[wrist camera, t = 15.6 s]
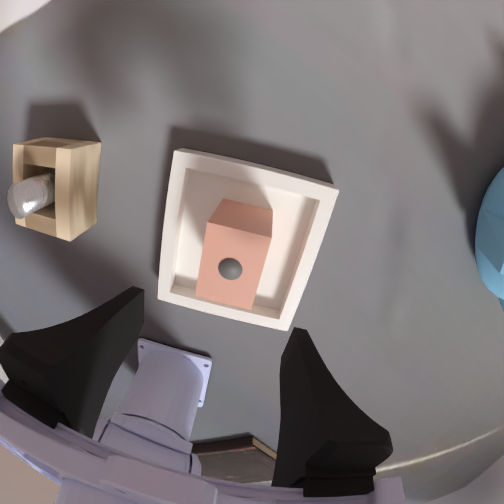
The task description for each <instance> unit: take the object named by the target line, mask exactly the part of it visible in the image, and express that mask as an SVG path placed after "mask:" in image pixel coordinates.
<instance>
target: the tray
mask: <svg viewBox="0 0 504 504" xmlns="http://www.w3.org/2000/svg"><path fill="white" fill-rule="evenodd" d="M338 192H339V190H338V189H337V188H336V186H335V185H334V184H330V183H327V182H324V181H320V180H317V179H313V178H310V177H306V176H303V175H299V174H296V173H292V172H288V171H284V170H281V169H277V168H273V167H269V166H265V165H261V164H257V163H252V162H248V161H244V160H240V159H235V158H231V157H226V156H221V155H216V154H212V153H207V152H202V151H196V150H191V149H186V148H181V149H178V150H174V155H173V161H172V167H171V173H170V180H169V187H168V194H167V201H166V209H165V217H164V226H163V236H162V246H161V257H160V269H159V283H158V299H159V300H163V301H166V302H170V303H173V304H177V305H181V306H184V307H188V308H192V309H195V310H199V311H203V312H207V313H211V314H215V315H219V316H223V317H227V318H231V319H235V320H239V321H243V322H248V323H252V324H257V325H261V326H266V327H270V328H275V329H280V330H284V331H288V329H289V326H290V324H291V321H292V319H293V316H294V314H295V311H296V309H297V306H298V304H299V301H300V299H301V296H302V294H303V291H304V289H305V286H306V283H307V281H308V278H309V275H310V273H311V270H312V267H313V265H314V262H315V259H316V256H317V254H318V251H319V248H320V245H321V242H322V240H323V237H324V234H325V231H326V228H327V225H328V222H329V219H330V216H331V213H332V210H333V207H334V204H335V201H336V198H337V195H338ZM223 198H224V199H228V200H232V201H237V202H241V203H245V204H249V205H253V206H257V207H261V208H265V209H269V210H273V224H272V239H271V243H270V246H269V250H268V253H267V257H266V260H265V264H264V267H263V271H262V274H261V278H260V281H259V284H258V288H257V291H256V295H255V298H254V302H253V305H252V308H251V310H250V309H245V308H241V307H237V306H233V305H229V304H225V303H221V302H217V301H213V300H209V299H205V298H201V297H197V296H195V293H196V286H197V280H198V273H199V267H200V261H201V255H202V249H203V243H204V237H205V232H206V226H207V222H208V220H209V219H210V217H211V216H212V214H213V213H214V211H215V210H216V208H217V207H218V205H219V204H220V202H221V201H222V199H223Z"/></svg>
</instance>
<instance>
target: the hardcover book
mask: <svg viewBox="0 0 504 504" xmlns="http://www.w3.org/2000/svg"><path fill="white" fill-rule="evenodd" d="M191 453H193V454H196V455H197V456H198V459H199V461H200V463H201V476H205V477H209V478H214V479H220V480H225V481H231V482H238V483H252V482H261V481H269V480H273V475H274V469H275V463H276V456H277V454H276V453H275V452H273V451H272V450H271V449H269V448H268V447H266V446H265V445H263V444H262V443H261V442H259V441H258V440H257V439H255V438H254V437H253V436H248V437H242V438H237V439H231V440H224V441H218V442H210V443H202V444H193V446H192V450H191Z"/></svg>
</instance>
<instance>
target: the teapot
mask: <svg viewBox="0 0 504 504" xmlns="http://www.w3.org/2000/svg"><path fill="white" fill-rule="evenodd" d="M475 255H476V263H477V268H478V271H479V274H480V276H481V279H482V281H483V283H484V284H485V285H486V286H487V288H488V289H489V290H490V291H491V292H493V293H494V294H495V295H497V296H498V297H499V301H500V304H501V306H502V308H503V310H504V167H503V168H502V169H501V170H500V171H499V172H498V174H497V175H496V176H495V178H494V179H493V181H492V182H491V184H490V186H489V187H488V189H487V191H486V193H485V196H484V198H483V201H482V204H481V207H480V210H479V215H478V220H477V226H476V237H475Z"/></svg>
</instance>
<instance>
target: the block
mask: <svg viewBox="0 0 504 504" xmlns="http://www.w3.org/2000/svg"><path fill="white" fill-rule="evenodd" d="M272 224H273V210H269V209H265V208H261V207H257V206H253V205H249V204H245V203H241V202H237V201H232V200H228V199H224V198H223V199H222V201H221V202H220V204H219V205H218V207H217V208H216V210H215V211H214V213H213V214H212V216H211V217H210V219H209V220H208V222H207V226H206V232H205V237H204V243H203V249H202V255H201V261H200V267H199V273H198V280H197V286H196V293H195V296H197V297H201V298H205V299H209V300H213V301H217V302H221V303H225V304H229V305H233V306H237V307H241V308H245V309H250V310H251V308H252V305H253V302H254V298H255V295H256V291H257V288H258V284H259V281H260V278H261V274H262V271H263V267H264V264H265V260H266V257H267V253H268V250H269V246H270V243H271V239H272Z"/></svg>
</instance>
